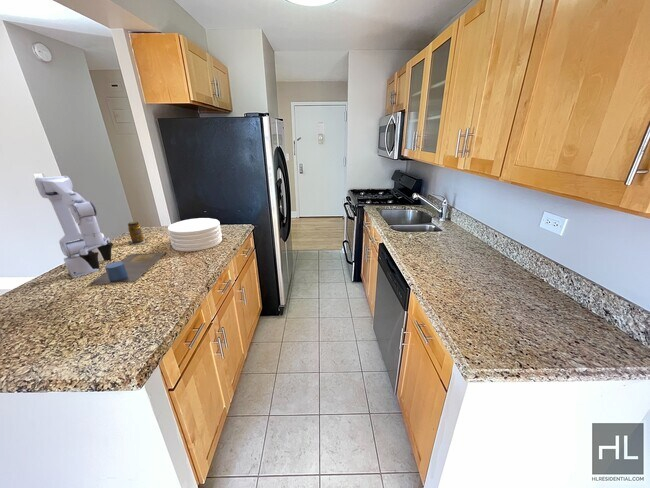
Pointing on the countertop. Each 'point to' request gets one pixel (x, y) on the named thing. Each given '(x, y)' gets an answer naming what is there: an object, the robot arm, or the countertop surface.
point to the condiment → (135, 233)
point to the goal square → (142, 258)
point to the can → (116, 271)
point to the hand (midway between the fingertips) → (102, 264)
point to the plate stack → (195, 234)
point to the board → (132, 268)
